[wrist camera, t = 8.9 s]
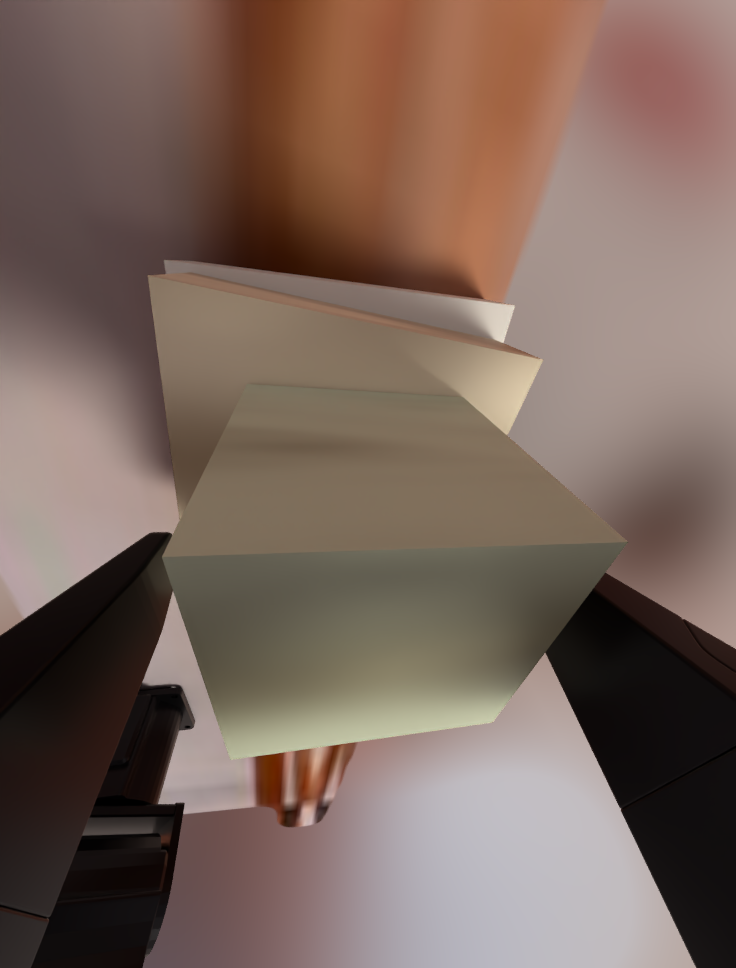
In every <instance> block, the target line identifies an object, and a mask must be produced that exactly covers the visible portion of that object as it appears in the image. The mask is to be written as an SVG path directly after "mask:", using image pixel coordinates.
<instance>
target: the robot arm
mask: <svg viewBox="0 0 736 968" xmlns="http://www.w3.org/2000/svg"><path fill="white" fill-rule="evenodd" d="M171 537H172V534H171V533H169V532H153V533H149V534H148V535H146V536H145V537H143V538H142V539H140V540H139V541H137V542H136V543H134V544H133V545H131V546H130V547H128V548H127V549H126V550H124V551H123V552H121V553H120V554H118V555H117V556H115V557H114V558H112V559H111V560H110V561H108V562H107V563H105V564H104V565H102V566H101V567H99V568H98V569H96V570H95V571H94V572H92V573H91V574H89V575H88V576H86V577H85V578H83V579H82V580H80V581H79V582H78V583H76V584H75V585H73V586H72V587H70V588H69V589H67V590H66V591H64V592H63V593H62V594H60V595H59V596H57V597H56V598H54V599H53V600H51V601H50V602H48V603H47V604H46V605H44V606H43V607H41V608H40V609H38V610H37V611H35V612H34V613H32V614H31V615H30V616H28V617H27V618H25V619H24V620H22V621H21V622H19V623H18V624H16V625H15V626H14V627H12V628H11V629H9V630H8V631H7V632H5V633H3V634H2V635H0V968H142V967H143V963H144V959H145V957H147V956H148V955H149V954H150V952H151V950H152V948H153V946H154V944H155V942H156V939H157V936H158V934H159V931H160V928H161V925H162V922H163V919H164V915H165V911H166V908H167V904H168V899H169V895H170V890H171V885H172V880H173V873H174V867H175V860H176V855H177V848H178V842H179V836H180V829H181V823H182V816H183V811H184V804H185V803H176V804H158V802H159V798H160V795H161V791H162V788H163V784H164V781H165V777H166V774H167V770H168V767H169V763H170V760H171V756H172V753H173V749H174V746H175V743H176V739H177V736H178V732H179V730H188V729H192V728H193V727H194V724H195V720H194V717H193V714H192V712H191V709H190V707H189V704H188V702H187V699H186V697H185V694H184V692H183V690H182V689H180V688H167V689H156V690H144V691H139V689H140V686H141V684H142V681H143V679H144V676H145V673H146V671H147V668H148V666H149V663H150V661H151V658H152V656H153V653H154V650H155V648H156V645H157V643H158V640H159V637H160V635H161V632H162V629H163V625H164V622H165V618H166V614H167V611H168V607H169V603H170V599H171V595H172V592H173V589H172V586H171V583H170V580H169V577H168V574H167V571H166V568H165V565H164V562H163V559H162V556H163V554H164V552H165V549H166V547H167V545H168V543H169V541H170V539H171ZM545 653H546V655H547V657H548V659H549V661H550V663H551V665H552V667H553V669H554V672H555V674H556V676H557V677H558V680H559V682H560V684H561V686H562V688H563V690H564V692H565V694H566V697H567V699H568V701H569V703H570V705H571V707H572V709H573V711H574V713H575V715H576V717H577V720H578V722H579V724H580V726H581V728H582V730H583V732H584V734H585V736H586V738H587V740H588V742H589V744H590V747H591V749H592V751H593V753H594V755H595V757H596V759H597V761H598V763H599V765H600V767H601V769H602V772H603V774H604V776H605V778H606V780H607V782H608V784H609V786H610V788H611V790H612V792H613V795H614V797H615V799H616V801H617V803H618V805H619V807H620V808H621V812H622V814H623V816H624V818H625V820H626V822H627V824H628V827H629V829H630V831H631V833H632V835H633V837H634V839H635V841H636V843H637V845H638V847H639V849H640V851H641V853H642V856H643V858H644V860H645V862H646V864H647V866H648V868H649V870H650V872H651V875H652V877H653V879H654V881H655V883H656V885H657V887H658V889H659V891H660V893H661V895H662V898H663V900H664V902H665V904H666V906H667V908H668V910H669V912H670V914H671V916H672V918H673V921H674V923H675V925H676V927H677V929H678V931H679V933H680V935H681V937H682V939H683V941H684V943H685V946H686V948H687V950H688V952H689V954H690V956H691V958H692V960H693V962H694V964H695V966H696V968H736V649H735V648H733V647H731V646H730V645H728V644H726V643H724V642H723V641H721V640H719V639H717V638H716V637H714V636H712V635H710V634H709V633H707V632H705V631H703V630H702V629H700V628H698V627H697V626H695V625H693V624H692V623H690V622H688V621H687V620H685V619H682V618H681V617H680V616H678V615H676V614H675V613H673V612H671V611H669V610H668V609H666V608H664V607H663V606H661V605H659V604H658V603H656V602H654V601H653V600H651V599H649V598H648V597H646V596H644V595H642V594H641V593H639V592H637V591H636V590H634V589H632V588H630V587H629V586H627V585H625V584H624V583H622V582H620V581H619V580H617V579H615V578H613V577H612V576H610V575H608V574H607V573H604V575H603V576H602V577H601V579H600V580H599V581H598V583H597V584H596V585H595V587H594V588H593V589H592V591H591V592H590V593H589V595H588V596H587V597H586V599H585V600H584V601H583V603H582V604H581V605H580V607H579V608H578V609H577V611H576V612H575V613H574V615H573V616H572V617H571V619H570V620H569V621H568V623H567V624H566V625H565V627H564V628H563V629H562V631H561V632H560V633H559V635H558V636H557V637H556V639H555V640H554V641H553V643H552V644H551V645H550V647H549V648H548V649H547V651H546V652H545Z"/></svg>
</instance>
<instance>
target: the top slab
mask: <svg viewBox="0 0 736 968" xmlns="http://www.w3.org/2000/svg"><path fill="white" fill-rule="evenodd" d="M148 282H149V290H150V298H151V305H152V313H153V320H154V328H155V336H156V343H157V351H158V359H159V366H160V374H161V382H162V389H163V397H164V404H165V412H166V420H167V427H168V435H169V443H170V450H171V458H172V466H173V473H174V481H175V489H176V496H177V504H178V511H179V519H181V517H182V515H183V513H184V511H185V509H186V507H187V505H188V503H189V501H190V499H191V497H192V495H193V493H194V491H195V489H196V487H197V485H198V482H199V480H200V478H201V476H202V474H203V472H204V470H205V468H206V466H207V464H208V462H209V460H210V458H211V456H212V454H213V452H214V450H215V448H216V446H217V444H218V442H219V440H220V438H221V436H222V434H223V432H224V430H225V428H226V426H227V424H228V422H229V420H230V418H231V416H232V413H233V411H234V409H235V407H236V405H237V403H238V401H239V399H240V397H241V395H242V393H243V391H244V389H245V387H246V385H247V384H256V385H273V386H289V387H305V388H322V389H338V390H355V391H371V392H388V393H404V394H420V395H437V396H453V397H464V398H465V399H466V400H467V401H468V402H469V403H470V404H472V405H473V406H474V407H475V408H476V409H477V410H478V411H480V412H481V413H482V414H483V415H484V416H485V417H486V418H488V419H489V420H490V421H491V422H492V423H493V424H494V425H495V426H497V427H498V428H499V429H500V430H501V431H502V432H503V433H505V434H506V435H508V433H509V431H510V429H511V427H512V425H513V423H514V420H515V419H516V416H517V414H518V412H519V410H520V408H521V406H522V404H523V402H524V400H525V397H526V395H527V393H528V391H529V389H530V387H531V385H532V383H533V381H534V378H535V376H536V374H537V372H538V369H539V368H540V366H541V363H542V362H543V360H542V359H540V358H538V357H535V356H533V355H530V354H528V353H526V352H523V351H521V350H518V349H516V348H513V347H511V346H509V345H506V344H504V343H502V342H499V341H497V340H494V339H490V338H485V337H480V336H476V335H471V334H467V333H462V332H458V331H453V330H449V329H444V328H440V327H435V326H431V325H426V324H422V323H417V322H413V321H408V320H404V319H399V318H395V317H390V316H386V315H381V314H377V313H372V312H368V311H363V310H358V309H354V308H349V307H345V306H340V305H336V304H331V303H327V302H322V301H318V300H313V299H309V298H304V297H300V296H295V295H291V294H286V293H282V292H277V291H273V290H268V289H264V288H259V287H255V286H250V285H245V284H241V283H236V282H232V281H227V280H223V279H218V278H214V277H209V276H205V275H200V274H196V273H191V272H188V273H174V274H161V275H148Z"/></svg>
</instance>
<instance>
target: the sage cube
mask: <svg viewBox="0 0 736 968" xmlns="http://www.w3.org/2000/svg"><path fill="white" fill-rule="evenodd" d="M627 543H628V542H627V541H626V540H625V539H624V538H623V537H622V536H620V535H619V534H618V533H617V532H616V531H615V530H614V529H612V528H611V527H610V526H609V525H608V524H607V523H606V522H605V521H604V520H602V519H601V518H600V517H599V516H598V515H597V514H595V513H594V512H593V511H592V510H591V509H590V508H589V507H588V506H586V505H585V504H584V503H583V502H582V501H581V500H580V499H578V498H577V497H576V496H575V495H574V494H573V493H572V492H571V491H569V490H568V489H567V488H566V487H565V486H564V485H563V484H561V483H560V482H559V481H558V480H557V479H556V478H554V477H553V476H552V475H551V474H550V473H549V472H548V471H547V470H545V469H544V468H543V467H542V466H541V465H540V464H539V463H537V462H536V461H535V460H534V459H533V458H532V457H531V456H530V455H528V454H527V453H526V452H525V451H524V450H523V449H522V448H521V447H519V446H518V445H517V444H516V443H515V442H514V441H512V440H511V439H510V438H509V437H508V436H507V435H506V434H505V433H503V432H502V431H501V430H500V429H499V428H498V427H497V426H495V425H494V424H493V423H492V422H491V421H490V420H489V419H488V418H486V417H485V416H484V415H483V414H482V413H481V412H480V411H478V410H477V409H476V408H475V407H474V406H473V405H472V404H470V403H469V402H468V401H467V400H466V399H465V398H464V397H453V396H437V395H420V394H404V393H388V392H371V391H355V390H338V389H322V388H305V387H289V386H273V385H256V384H247V385H246V387H245V389H244V391H243V393H242V395H241V397H240V399H239V401H238V403H237V405H236V407H235V409H234V411H233V413H232V416H231V418H230V420H229V422H228V424H227V426H226V428H225V430H224V432H223V434H222V436H221V438H220V440H219V442H218V444H217V446H216V448H215V450H214V452H213V454H212V456H211V458H210V460H209V462H208V464H207V466H206V468H205V470H204V472H203V474H202V476H201V478H200V480H199V482H198V485H197V487H196V489H195V491H194V493H193V495H192V497H191V499H190V501H189V503H188V505H187V507H186V509H185V511H184V513H183V515H182V517H181V519H180V521H179V523H178V525H177V527H176V529H175V531H174V533H173V535H172V537H171V539H170V541H169V543H168V545H167V547H166V549H165V552H164V554H163V556H162V559H163V562H164V565H165V568H166V571H167V574H168V577H169V580H170V583H171V586H172V589H173V592H174V595H175V597H176V600H177V603H178V606H179V609H180V612H181V615H182V618H183V621H184V624H185V627H186V630H187V633H188V636H189V639H190V642H191V645H192V648H193V651H194V654H195V657H196V660H197V663H198V666H199V668H200V671H201V674H202V677H203V680H204V683H205V686H206V689H207V692H208V695H209V698H210V701H211V704H212V707H213V710H214V713H215V716H216V719H217V722H218V725H219V728H220V731H221V734H222V737H223V739H224V742H225V745H226V748H227V751H228V754H229V757H230V760H233V759H240V758H247V757H254V756H261V755H268V754H275V753H282V752H289V751H296V750H303V749H310V748H317V747H324V746H331V745H338V744H345V743H352V742H359V741H366V740H373V739H380V738H387V737H394V736H401V735H408V734H415V733H422V732H429V731H436V730H443V729H450V728H457V727H464V726H471V725H478V724H485V723H492V722H493V721H494V720H495V718H496V717H497V716H498V714H499V713H500V712H501V711H502V709H503V708H504V707H505V705H506V704H507V702H508V701H509V700H510V699H511V697H512V696H513V695H514V693H515V692H516V691H517V689H518V688H519V686H520V685H521V684H522V682H523V681H524V680H525V679H526V677H527V676H528V675H529V673H530V672H531V671H532V669H533V668H534V667H535V665H536V664H537V663H538V661H539V660H540V658H541V657H542V656H543V655H544V653H545V652H546V651H547V649H548V648H549V647H550V645H551V644H552V643H553V641H554V640H555V639H556V637H557V636H558V635H559V633H560V632H561V631H562V629H563V628H564V627H565V625H566V624H567V623H568V621H569V620H570V619H571V617H572V616H573V615H574V613H575V612H576V611H577V609H578V608H579V607H580V605H581V604H582V603H583V601H584V600H585V599H586V597H587V596H588V595H589V593H590V592H591V591H592V589H593V588H594V587H595V585H596V584H597V583H598V581H599V580H600V579H601V577H602V576H603V575H604V573H605V572H606V571H607V569H608V568H609V567H610V566H611V564H612V563H613V562H614V560H615V559H616V557H617V556H618V555H619V554H620V552H621V551H622V550H623V548H624V547H625V545H626V544H627Z"/></svg>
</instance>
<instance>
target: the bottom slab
mask: <svg viewBox="0 0 736 968" xmlns="http://www.w3.org/2000/svg"><path fill="white" fill-rule="evenodd" d="M164 265H165V271H166V274H174V273H188V272H191V273H196V274H200V275H205V276H209V277H214V278H218V279H223V280H227V281H232V282H236V283H241V284H245V285H250V286H255V287H259V288H264V289H268V290H273V291H277V292H282V293H286V294H291V295H295V296H300V297H304V298H309V299H313V300H318V301H322V302H327V303H331V304H336V305H340V306H345V307H349V308H354V309H358V310H363V311H368V312H372V313H377V314H381V315H386V316H390V317H395V318H399V319H404V320H408V321H413V322H417V323H422V324H426V325H431V326H435V327H440V328H444V329H449V330H453V331H458V332H462V333H467V334H471V335H476V336H480V337H485V338H490V339H494V340H497V341H499V342H502V343H503V342H504V339H505V336H506V332H507V330H508V326H509V323H510V320H511V317H512V314H513V311H514V308H515V306H514V305H509V304H505V303H500V302H495V301H490V300H485V299H478V298H471V297H463V296H456V295H448V294H440V293H433V292H425V291H417V290H410V289H402V288H395V287H387V286H379V285H372V284H364V283H357V282H349V281H341V280H334V279H326V278H319V277H311V276H303V275H296V274H288V273H281V272H273V271H265V270H258V269H250V268H242V267H235V266H227V265H220V264H212V263H204V262H197V261H185V260H164Z"/></svg>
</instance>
